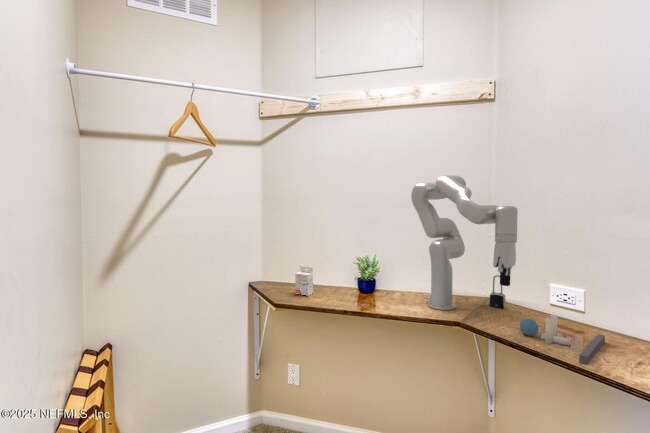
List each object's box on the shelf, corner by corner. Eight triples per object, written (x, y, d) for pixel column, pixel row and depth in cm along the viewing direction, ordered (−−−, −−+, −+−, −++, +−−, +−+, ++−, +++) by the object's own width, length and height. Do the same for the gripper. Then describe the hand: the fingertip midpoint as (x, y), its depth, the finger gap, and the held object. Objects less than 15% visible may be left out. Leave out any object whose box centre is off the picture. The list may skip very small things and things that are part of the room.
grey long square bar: (579, 362, 108) (579, 354, 108) (597, 340, 124) (597, 333, 124) (587, 364, 107) (587, 356, 106) (604, 342, 122) (604, 335, 122)
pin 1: (544, 342, 123) (544, 318, 122) (546, 340, 124) (546, 317, 124) (551, 344, 121) (551, 320, 121) (553, 342, 123) (554, 319, 122)
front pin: (540, 335, 125) (569, 342, 119) (542, 331, 126) (570, 338, 120) (541, 340, 126) (569, 347, 120) (543, 336, 127) (571, 343, 121)
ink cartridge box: (295, 294, 186) (294, 267, 186) (300, 292, 191) (300, 265, 190) (308, 297, 182) (307, 269, 181) (313, 294, 186) (313, 267, 185)
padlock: (488, 306, 163) (488, 275, 162) (490, 304, 166) (490, 273, 165) (504, 309, 159) (504, 276, 158) (506, 307, 162) (506, 275, 161)
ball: (537, 330, 124) (528, 341, 127) (544, 325, 128) (535, 336, 131) (522, 317, 128) (513, 329, 131) (529, 313, 132) (520, 324, 134)
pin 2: (548, 338, 126) (549, 315, 126) (550, 337, 127) (551, 314, 127) (555, 340, 124) (556, 317, 124) (557, 338, 126) (558, 315, 125)
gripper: (503, 235, 142) (502, 280, 143) (487, 239, 132) (486, 286, 133) (523, 237, 136) (522, 283, 137) (508, 240, 127) (507, 290, 128)
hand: (504, 285), depth 135 cm, fingers closed
